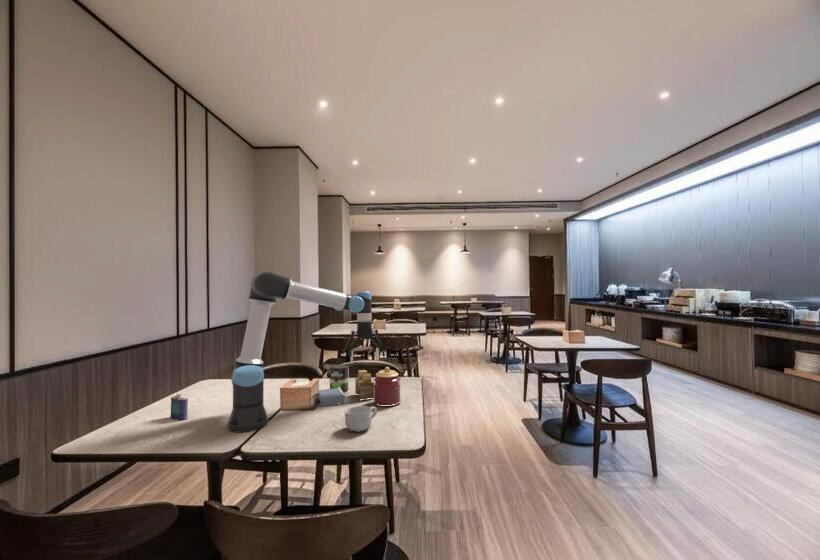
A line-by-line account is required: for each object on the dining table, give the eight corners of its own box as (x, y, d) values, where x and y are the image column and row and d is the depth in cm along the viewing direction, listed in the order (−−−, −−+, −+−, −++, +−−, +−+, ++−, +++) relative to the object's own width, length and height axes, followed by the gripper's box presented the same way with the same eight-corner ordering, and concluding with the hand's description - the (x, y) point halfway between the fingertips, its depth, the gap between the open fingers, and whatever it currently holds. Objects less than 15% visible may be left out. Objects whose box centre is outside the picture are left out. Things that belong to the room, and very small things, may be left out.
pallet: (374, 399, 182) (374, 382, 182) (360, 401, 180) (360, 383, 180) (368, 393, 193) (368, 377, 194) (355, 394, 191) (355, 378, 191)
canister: (405, 401, 178) (405, 365, 179) (390, 409, 167) (390, 371, 168) (384, 397, 185) (384, 363, 186) (368, 404, 174) (368, 367, 175)
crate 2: (371, 382, 182) (371, 374, 182) (363, 383, 181) (363, 375, 181) (369, 381, 186) (369, 373, 186) (361, 381, 184) (361, 373, 184)
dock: (345, 403, 176) (345, 394, 176) (322, 406, 172) (322, 397, 172) (340, 395, 189) (340, 387, 189) (318, 398, 185) (318, 389, 185)
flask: (189, 418, 157) (189, 393, 157) (182, 421, 154) (182, 395, 154) (174, 416, 160) (174, 391, 160) (168, 418, 157) (168, 393, 158)
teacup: (349, 437, 136) (349, 415, 137) (341, 427, 146) (341, 407, 146) (383, 430, 143) (383, 409, 143) (373, 421, 152) (373, 402, 153)
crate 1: (367, 379, 189) (367, 371, 190) (359, 379, 188) (359, 372, 188) (365, 377, 193) (365, 369, 193) (358, 378, 192) (358, 370, 192)
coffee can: (345, 395, 189) (345, 368, 190) (326, 394, 191) (326, 367, 191) (351, 389, 200) (351, 364, 200) (333, 389, 201) (333, 363, 202)
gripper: (385, 319, 196) (385, 358, 195) (339, 321, 187) (339, 362, 186) (389, 320, 188) (389, 361, 188) (341, 322, 180) (342, 365, 179)
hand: (364, 361), depth 187 cm, fingers open, 13 cm apart
